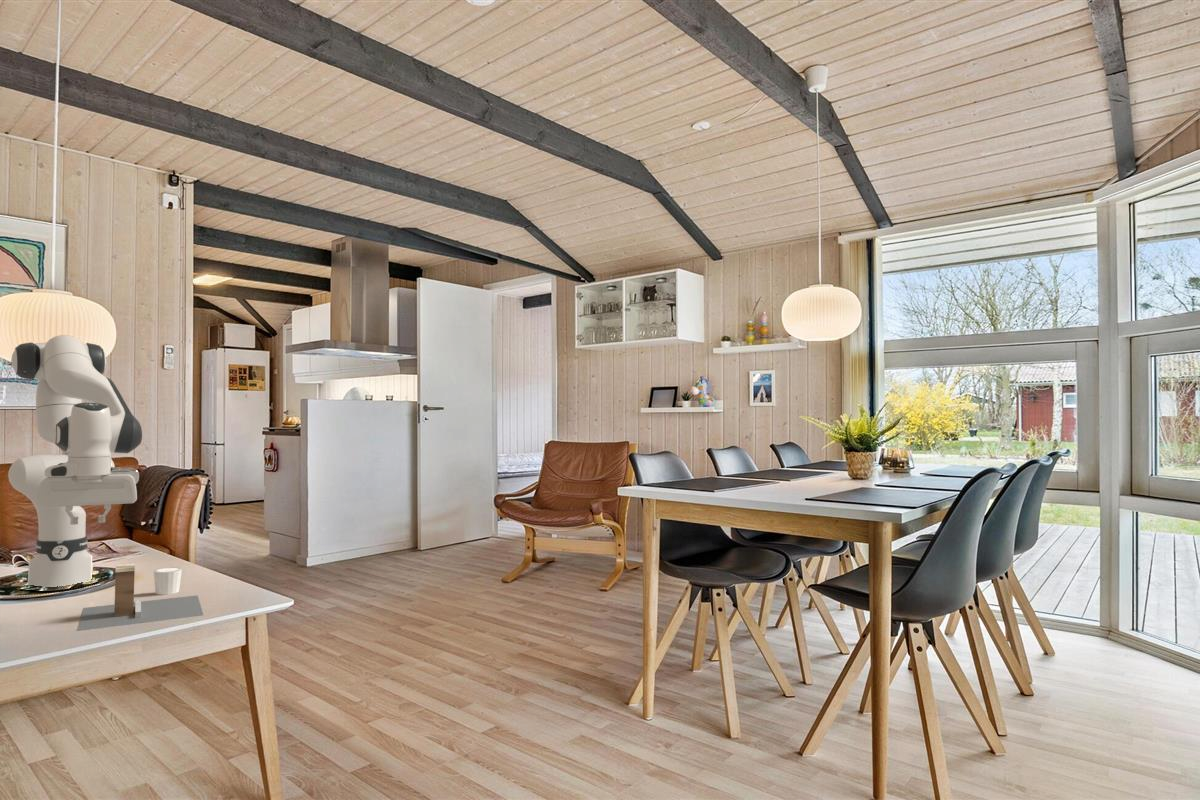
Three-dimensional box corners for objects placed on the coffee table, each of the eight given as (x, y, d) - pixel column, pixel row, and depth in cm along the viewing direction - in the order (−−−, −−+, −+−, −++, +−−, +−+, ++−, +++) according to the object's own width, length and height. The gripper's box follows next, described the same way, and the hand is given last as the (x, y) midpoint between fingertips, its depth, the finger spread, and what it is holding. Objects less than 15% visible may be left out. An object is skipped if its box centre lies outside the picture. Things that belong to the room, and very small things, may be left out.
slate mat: (83, 610, 185) (83, 602, 185) (197, 597, 199) (197, 589, 199) (77, 633, 167) (77, 624, 167) (203, 617, 181) (203, 609, 181)
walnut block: (114, 612, 182) (116, 565, 182) (133, 610, 184) (134, 563, 184) (114, 617, 178) (115, 569, 178) (133, 615, 180) (134, 567, 180)
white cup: (168, 598, 198) (168, 573, 198) (147, 596, 199) (147, 571, 200) (187, 592, 205) (187, 567, 205) (166, 590, 206) (167, 566, 206)
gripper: (139, 465, 185) (137, 518, 185) (39, 468, 174) (38, 524, 174) (139, 467, 180) (137, 522, 180) (36, 470, 169) (35, 528, 169)
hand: (88, 523), depth 177 cm, fingers open, 4 cm apart
